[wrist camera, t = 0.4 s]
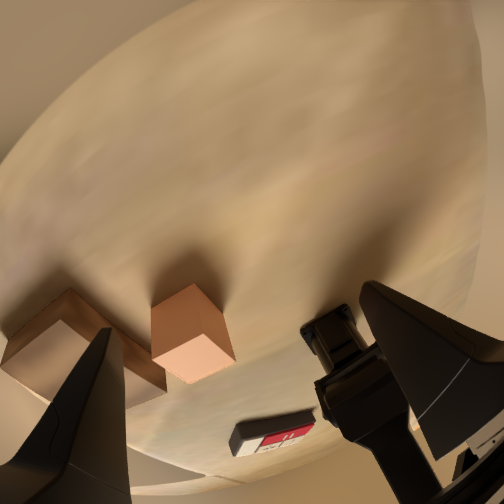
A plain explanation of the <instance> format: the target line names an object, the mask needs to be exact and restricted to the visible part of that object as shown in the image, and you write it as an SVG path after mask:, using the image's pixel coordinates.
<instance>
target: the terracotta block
mask: <svg viewBox="0 0 504 504" xmlns="http://www.w3.org/2000/svg"><path fill="white" fill-rule="evenodd" d="M151 352H152V360H153V361H154V362H156V363H157V364H159V365H160V366H161V367H163V368H164V369H166V370H167V371H169V372H171V373H172V374H174V375H175V376H177V377H178V378H180V379H181V380H183V381H185V382H186V383H188V384H191V383H193V382H195V381H198V380H200V379H202V378H204V377H206V376H208V375H211V374H213V373H215V372H217V371H219V370H221V369H223V368H225V367H227V366H230V365H232V364H234V363H236V359H235V356H234V352H233V349H232V345H231V341H230V338H229V334H228V331H227V327H226V323H225V320H224V316H223V314H222V312H221V311H220V310H219V309H218V308H217V307H216V306H215V305H214V304H213V303H212V302H211V301H210V300H209V299H208V297H207V296H206V295H205V294H204V293H203V292H202V291H201V290H200V289H199V288H198V286H197V285H196V284H195V283H193V284H191V285H190V286H188V287H186V288H185V289H183V290H181V291H180V292H178V293H176V294H175V295H173V296H171V297H169V298H168V299H166V300H164V301H163V302H161V303H159V304H158V305H156V306H154V307H153V308H151Z"/></svg>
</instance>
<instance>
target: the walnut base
mask: <svg viewBox="0 0 504 504" xmlns="http://www.w3.org/2000/svg"><path fill="white" fill-rule="evenodd" d="M109 326H112V327H113V328H114V329H115V331H116V333H117V335H118V337H119V339H120V341H121V344H122V352H123V366H124V378H125V409H128V408H131V407H133V406H136V405H138V404H141V403H144V402H146V401H149V400H151V399H154V398H156V397H159V396H161V395H163V394H166V393H167V384H166V374H165V369H164V368H163V367H161V366H160V365H159V364H157V363H156V362H154V361H153V360H152V354H150V353H149V352H148V351H146V350H145V349H144V348H142V347H141V346H140V345H138V344H137V343H136V342H134V341H133V340H132V339H130V338H129V337H128V336H126V335H125V334H124V333H123V332H121V331H120V330H119V329H118V328H116V327H115V326H114V325H113V324H111V323H110V322H109V321H108V320H106V319H105V318H104V317H103V316H102V315H101V314H99V313H98V312H97V311H96V310H95V309H93V308H92V307H91V306H90V305H89V304H88V303H87V302H86V301H84V300H83V299H82V298H81V297H80V296H79V295H78V294H77V293H76V292H75V291H73V290H72V289H71V288H69V289H68V290H67V291H65V292H64V293H63V294H62V295H60V296H59V297H58V298H57V299H56V300H54V301H53V302H52V303H51V304H50V305H48V306H47V307H46V308H45V309H44V310H42V311H41V312H40V313H39V314H38V315H37V316H35V317H34V318H33V319H32V320H31V321H30V322H29V323H27V324H26V325H25V326H24V327H23V328H22V329H21V330H20V331H18V332H17V333H16V334H15V335H14V336H13V337H12V338H11V339H10V340H9V341H8V342H7V345H6V348H5V351H4V354H3V357H2V361H1V364H0V368H1V369H2V370H3V371H5V372H6V373H7V374H9V375H10V376H12V377H13V378H14V379H16V380H17V381H19V382H20V383H22V384H23V385H25V386H26V387H28V388H29V389H31V390H32V391H34V392H36V393H37V394H39V395H41V396H42V397H44V398H46V399H47V400H49V401H51V402H52V400H53V398H54V397H55V395H56V394H57V392H58V390H59V389H60V387H61V386H62V384H63V383H64V381H65V379H66V378H67V376H68V375H69V373H70V372H71V370H72V369H73V367H74V366H75V364H76V363H77V361H78V360H79V359H80V357H81V356H82V354H83V353H84V351H85V350H86V348H87V347H88V346H89V344H90V343H91V341H92V340H93V338H94V337H95V336H96V334H97V333H98V331H99V330H100V329H101V328H102V327H109Z"/></svg>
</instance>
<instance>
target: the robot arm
mask: <svg viewBox="0 0 504 504" xmlns="http://www.w3.org/2000/svg"><path fill="white" fill-rule="evenodd" d="M359 303H360V306H361V308H362V311H363V313H364V315H365V317H366V320H367V322H368V324H369V327H370V329H371V331H372V334H373V336H374V338H375V340H376V341H375V343H374V344H372V345H371V346H368V345H367V343H366V342H365V340H364V339H363V337H362V336H361V334H360V333H359V332H358V330H357V328H356V325H355V322H354V319H353V316H352V313H351V310H350V307H349V306H348V304H344V305H342V306H340V307H339V308H337V309H336V310H334V311H332V312H331V313H329V314H327V315H326V316H324V317H322V318H321V319H319V320H317V321H315V322H314V323H312V324H310V325H309V326H307V327H305V328H303V329H302V330H301V331H300V334H301V336H302V337H303V339H304V340H305V342H306V343H307V345H308V346H309V348H310V349H311V351H312V352H313V353H314V355H317V356H318V358H319V360H320V362H321V364H322V366H323V368H324V370H325V372H326V374H327V375H326V376H324V377H323V378H321V379H320V380H317V381H315V382H314V384H315V387H316V388H315V390H316V393H317V396H318V399H319V402H320V405H321V409H322V415H323V418H324V419H325V420H328V421H330V422H331V424H332V425H333V426H334V427H336V428H338V427H339V429H340V431H341V433H342V435H343V437H344V438H345V439H347V440H349V441H350V442H354V443H356V444H358V445H360V446H362V447H364V448H366V449H368V450H370V451H371V452H372V453H373V455H374V457H375V459H376V460H377V462H378V464H379V466H380V468H381V470H382V472H383V473H384V475H385V477H386V479H387V481H388V483H389V485H390V486H391V488H392V490H393V492H394V494H395V496H396V498H397V500H398V502H399V504H504V341H501V340H497V339H495V338H493V337H490V336H488V335H486V334H483V333H481V332H479V331H476V330H474V329H472V328H470V327H467V326H465V325H463V324H461V323H459V322H457V321H455V320H453V319H451V318H449V317H447V316H445V315H443V314H442V313H440V312H438V311H436V310H434V309H432V308H430V307H428V306H426V305H424V304H422V303H420V302H418V301H416V300H414V299H412V298H410V297H408V296H406V295H404V294H402V293H400V292H398V291H396V290H394V289H392V288H389V287H387V286H385V285H383V284H381V283H379V282H377V281H375V280H370V281H366V282H364V283H363V285H362V289H361V293H360V296H359ZM410 407H411V409H412V411H413V413H414V415H415V417H416V419H417V422H418V424H419V426H420V428H421V430H422V432H423V435H424V437H425V439H426V441H427V443H428V446H429V448H430V450H431V452H432V455H433V457H434V459H435V461H438V460H439V459H441V458H442V457H444V456H445V455H447V454H448V453H450V452H451V451H453V450H454V449H455V448H457V447H458V446H460V445H461V444H462V443H464V442H465V441H466V443H467V444H468V446H469V447H468V448H467V449H465V450H464V451H463V452H462V453H461V454H459V455H458V457H457V462H456V466H455V471H454V475H453V479H452V481H453V482H452V483H451V484H450V485H448V486H447V487H445V488H443V487H442V485H441V483H440V481H439V479H438V478H437V476H436V474H435V472H434V470H433V469H432V467H431V465H430V463H429V461H428V460H427V458H426V456H425V454H424V452H423V451H422V449H421V447H420V446H419V444H418V442H417V440H416V439H415V437H414V435H413V434H412V432H411V430H410V428H409V425H410ZM126 449H127V448H126V422H125V378H124V366H123V352H122V344H121V341H120V339H119V337H118V335H117V333H116V331H115V329H114V328H113V327H112V326H109V327H102V328H101V329H100V330H99V331H98V333H97V334H96V336H95V337H94V338H93V340H92V341H91V343H90V344H89V346H88V347H87V348H86V350H85V351H84V353H83V354H82V356H81V357H80V359H79V360H78V361H77V363H76V364H75V366H74V367H73V369H72V370H71V372H70V373H69V375H68V376H67V378H66V379H65V381H64V383H63V384H62V386H61V387H60V389H59V390H58V392H57V394H56V395H55V397H54V398H53V400H52V402H51V403H50V405H49V406H48V408H47V410H46V411H45V413H44V414H43V416H42V418H41V419H40V421H39V422H38V424H37V425H36V426H35V428H34V429H33V431H32V432H31V434H30V435H29V436H28V437H27V439H26V440H25V442H24V443H23V444H22V446H21V447H20V449H19V450H18V452H17V453H16V454H15V456H14V457H13V458H12V459H11V460H10V461H8V462H7V463H5V464H3V465H1V466H0V504H132V501H131V496H130V495H131V494H130V486H129V476H128V463H127V450H126Z"/></svg>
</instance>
